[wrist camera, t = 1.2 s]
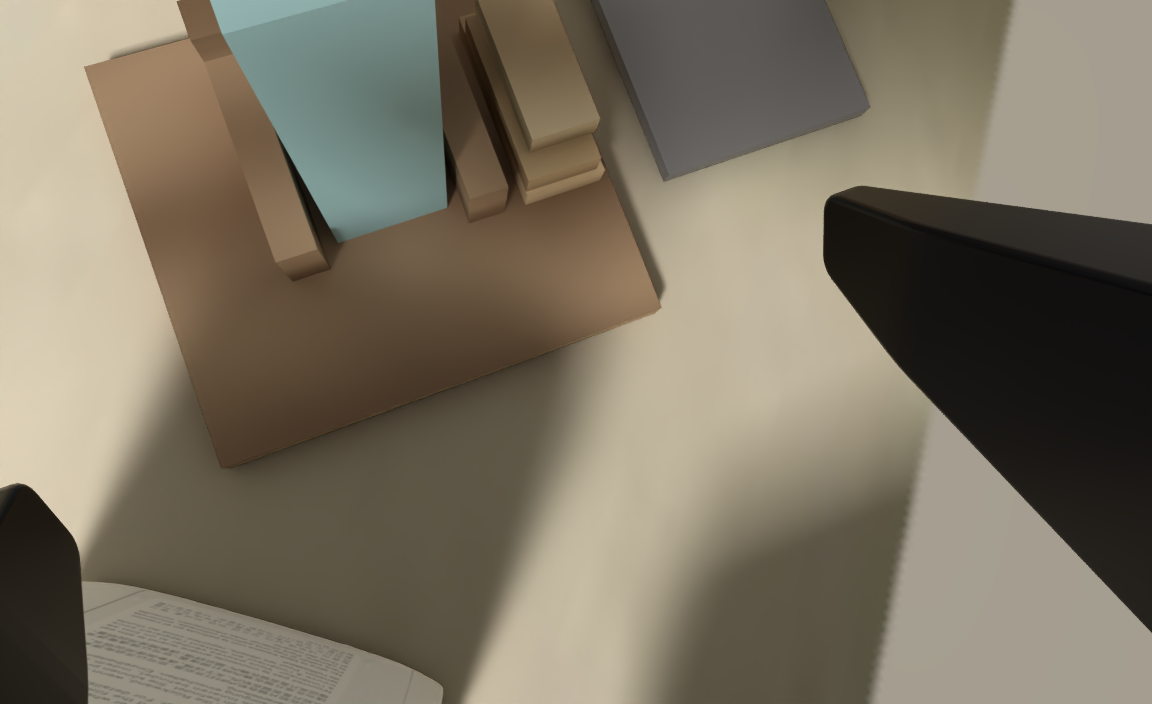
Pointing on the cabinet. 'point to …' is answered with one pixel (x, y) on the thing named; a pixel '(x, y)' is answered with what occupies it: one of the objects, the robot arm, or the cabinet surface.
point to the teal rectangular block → (349, 101)
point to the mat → (729, 74)
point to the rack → (381, 258)
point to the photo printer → (226, 657)
